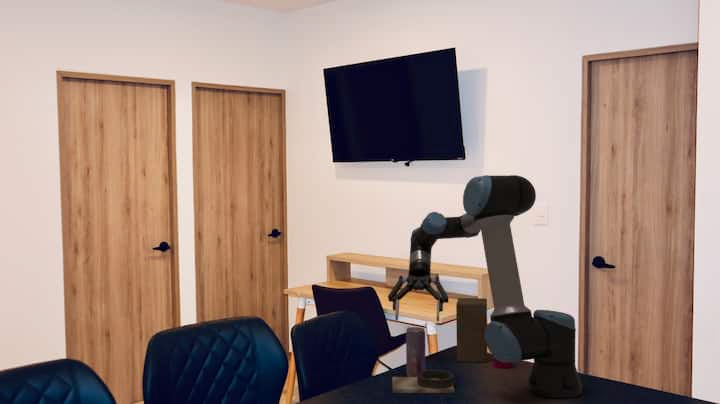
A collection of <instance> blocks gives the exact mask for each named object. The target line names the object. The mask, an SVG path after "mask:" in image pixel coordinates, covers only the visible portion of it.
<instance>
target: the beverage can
mask: <svg viewBox="0 0 720 404" xmlns="http://www.w3.org/2000/svg"><path fill="white" fill-rule="evenodd" d="M405 347H406V348H405V350H406V351H405V353H406V359H405V360H406V362H405V363H406V377H417V374H418V373H420V372H421V371H426V331H425V328H424V327H421V326H411V327H407V328H406V331H405Z"/></svg>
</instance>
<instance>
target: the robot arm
mask: <svg viewBox="0 0 720 404" xmlns="http://www.w3.org/2000/svg"><path fill="white" fill-rule="evenodd" d="M536 193H537V192H536V189H535V187H534V185H533V183H532V182H531V181H530V180H528V179H527V178H526V177H523V176H521V175H517V174H514V175H512V174H511V175H481V176H474V177H472V178H471V179H470V180H469V181H468V182H467V183H466V186H465V188H464V191H463V195H462V205H463V210H464V211H465V212H466V213H464V214H461V215H459V216H445V215H444V214H442V213H439V212H437V211H431V212H430V213H427V215H426V217H424V218H423V220H422V223H421V224H420V226H418V227H416V229H413V230H412V232H411V236H410V250H409V261H408V264H409V266H408V276H407V277H404V276H403V275H399V277H398V280H397V282H396V284H395V285H394V286H393V288H392V289H391V291H390V292H389V294H388V295H387V301H389V302H391V303H392V311H395V313H394V319H395V321H399V314H400V313H399V312H400V301H401V300H402V299H403V298H404V297H405V296H406V295H407V294H409V293H411V291H413V290H414V291H424V290H425V291H426V292H427V293H429V294H430V295H431V296H432V297H433V298H434V299H435V301H436V322H439V321H440V313H441V312H443V311H444V303H446V304H447V303H449V295H448V294H447V292H446V290H445V287H443V285H442V283H441V282H440V277H439V276H438V275H435V277H431V271H432V269H431V266H432V263H431V262H432V249H433V247H434V245H435V244H436V243H437V241H438V240H445V239H462V238H463V239H464V238H466V239H469V238H473V237H474V238H475V237H477V236H479V234H480V232H481V239H482V244H483V249H484V250H483V251H484V256H485V262H486V268H487V273H488V280H489V285H490V292H491V296H492V297H491V298H492V303H493V311H492V312H491V314H490V315H489V319H490V322H488V323H487V326H486V328H485V329H486V331H485V341H486V344H487V350H488V351H489V353H490V354H491V355H492V357H493V356H494V357H495V358H496V359H497V360H499V361H501V362H512V363H518V362H522V361H528V360H533V365H532V368H531V370H530V374H529V377H528V380H527V390H528V391H529V392H530V393H532V394H534V395H536V396H539V397H544V398H548V399H549V398H550V399H572V398H576V397H579V396H580V395H581V394H582V391H583V390H582V389H583V388H582V387H583V386H582V385H583V384H582V381H581V379H580V375H579V373H578V369H577V367H576V331H577V328H576V321H575V320H576V319H575V317H573V316H572V315H571V314H568V313H566V312H561V311H556V310H549V309H535V310H534V311H533V314H532V310H531V309H530V308H528V307H527V306H526V305H525V301H524V295H523V289H522V284H521V278H520V277H521V276H520V272H519V267H518V262H517V256H516V250H515V245H514V240H513V238H514V237H513V234H512V227H511V223H512V222H513V220H514V219H515V217H519V216H520V215H523V214H524V213H526V212H528V211H530V210H531V209H532V208H533V206H534V204H535V202H536V197H537V194H536ZM405 283H406V285H405ZM432 283H433V285H435V286H436V288H437V290H438V292H439V293H438V292H437V290H436V289H435V288H433V286H432V285H431V284H432ZM403 285H405V286H404V287H403ZM402 287H403V288H402ZM401 288H402V289H401ZM494 357H493V358H494ZM495 358H494V359H495Z"/></svg>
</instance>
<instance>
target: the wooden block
mask: <svg viewBox="0 0 720 404" xmlns="http://www.w3.org/2000/svg"><path fill="white" fill-rule="evenodd" d="M455 305H456V307H455V310H456V314H455V315H456V317H455V319H456V321H455V322H456V362H462V363H463V362H466V363H467V362H470V363H487V361H488V347H487V344H486V341H485V331H486V329H485V328H486V326H487V324H488V300H487V298H481V297H480V298H479V297H478V298H476V297H470V298H469V297H459V298H458V299H457V301H456V304H455Z"/></svg>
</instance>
